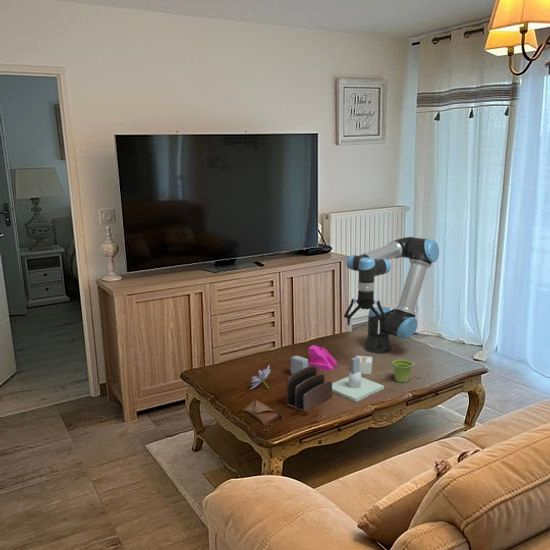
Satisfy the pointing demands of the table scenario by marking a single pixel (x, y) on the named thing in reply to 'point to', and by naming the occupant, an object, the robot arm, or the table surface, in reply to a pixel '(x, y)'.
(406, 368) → the plant pot
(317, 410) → the table surface
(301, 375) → the letter holder
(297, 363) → the medicine box
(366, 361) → the slotted block
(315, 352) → the bracket
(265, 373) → the water lily
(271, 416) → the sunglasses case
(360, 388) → the shaft stand
